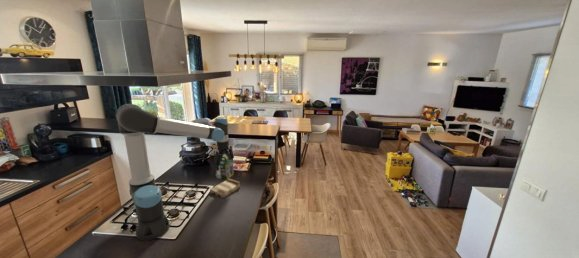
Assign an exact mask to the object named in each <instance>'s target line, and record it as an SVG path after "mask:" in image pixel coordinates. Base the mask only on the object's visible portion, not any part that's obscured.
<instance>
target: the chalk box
mask: <svg viewBox="0 0 579 258" xmlns="http://www.w3.org/2000/svg"><path fill="white" fill-rule="evenodd" d="M219 166H220V173H221V175H218V174H217V170H216V166H214V173H215V174H214V175H215V179H220V180H224V181H226V180H227V179H229V178H230V179H231V177H233V176H234V175H235V172H234V170H235V169H234V159H233V160H232V159H228V158H226V157H225V156H222V158H221V161H220V164H219Z"/></svg>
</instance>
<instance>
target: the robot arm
mask: <svg viewBox="0 0 579 258" xmlns="http://www.w3.org/2000/svg"><path fill="white" fill-rule="evenodd" d="M115 119H116V121H117V125H118V129H119V134H121V135H123V136H124V142H125V149H126V154H127V160H128V165H129V170H130V175H131V178H129V180H128V185H129V191H128V192H129V195H130V197H131V199H132V201H133V204H134V207H135V211H136V212H135V213H136V217H137V225H136V229H135V236H136V239H138V240H140V241H144V242H145V241H152V240H155V239H158V238H159V237H162V236H164V235H165V234H166V233H167V232H168V231H169V229H170V221H169V219H168V217H167V216H166V214H165V211H164V204H163V193H162V191H161V188H160V187H159V186H158V185H156V180H155V176H154V175H153V174H151V169H150V163H149V156H148V150H147V144H146V137H145V134H152V135H154V134H156V133H161V134H168V135H175V136H183V137H188V138H189V137H191V138H197V139H205V140H211V141H214V142H216V147H217V150H214V151H213V154H214V155H213V160H212V166H214V167H215V166H216V170H217V174H218V175H221V173H220V166H219V164H220V161H221V158H222V157H224V155H225V156H226V157H227V159H232V160H233V161H234V159H235V156H234V152H233V146H232V145H230V144H229V128H228V127H229V123H228V118H227V117H224V116H217V117H215V119H214V121H211V122H210V121H209V122H201V123H196V122H195V123H194V122H191V121H190V122H189V121H184V120H177V119H172V118H167V117H161V116H159V115H158V114H157V113H156V114H155V113H151V112H148V111H146V110H144V109H143V108H142V107H140V106H139V105H137V104H134V103H126V104H122V105H121V106H119V107H118V109H117V110H116V112H115Z"/></svg>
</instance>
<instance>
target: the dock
mask: <svg viewBox="0 0 579 258" xmlns="http://www.w3.org/2000/svg"><path fill="white" fill-rule="evenodd" d="M240 183H241V182H240V181H237V180H235V179H232V178H231V177H230V178H229V179H227V180H224V181H222V182H220V183H219V184H217V185H215V186H213V187H212V188H209V193H210V194H212V195H214V194H215V196H216V197H219V196H220V198H222V199H224V198H226V197H228V196H230V194H232V193H234V192H236V191H237V190H238V189H241V188H240V187H241V185H240Z"/></svg>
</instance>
